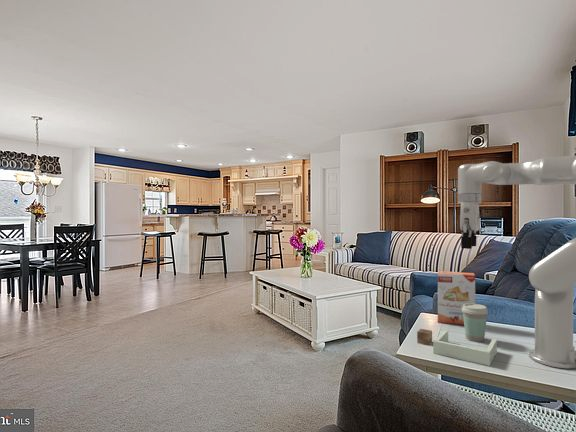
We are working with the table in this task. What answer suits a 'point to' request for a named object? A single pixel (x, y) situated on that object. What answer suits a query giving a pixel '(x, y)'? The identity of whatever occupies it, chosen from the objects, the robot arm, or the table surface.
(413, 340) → the table surface
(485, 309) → the coffee cup
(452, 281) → the cracker box
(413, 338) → the table surface
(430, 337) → the walnut block
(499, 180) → the robot arm
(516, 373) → the table surface
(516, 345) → the table surface
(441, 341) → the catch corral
